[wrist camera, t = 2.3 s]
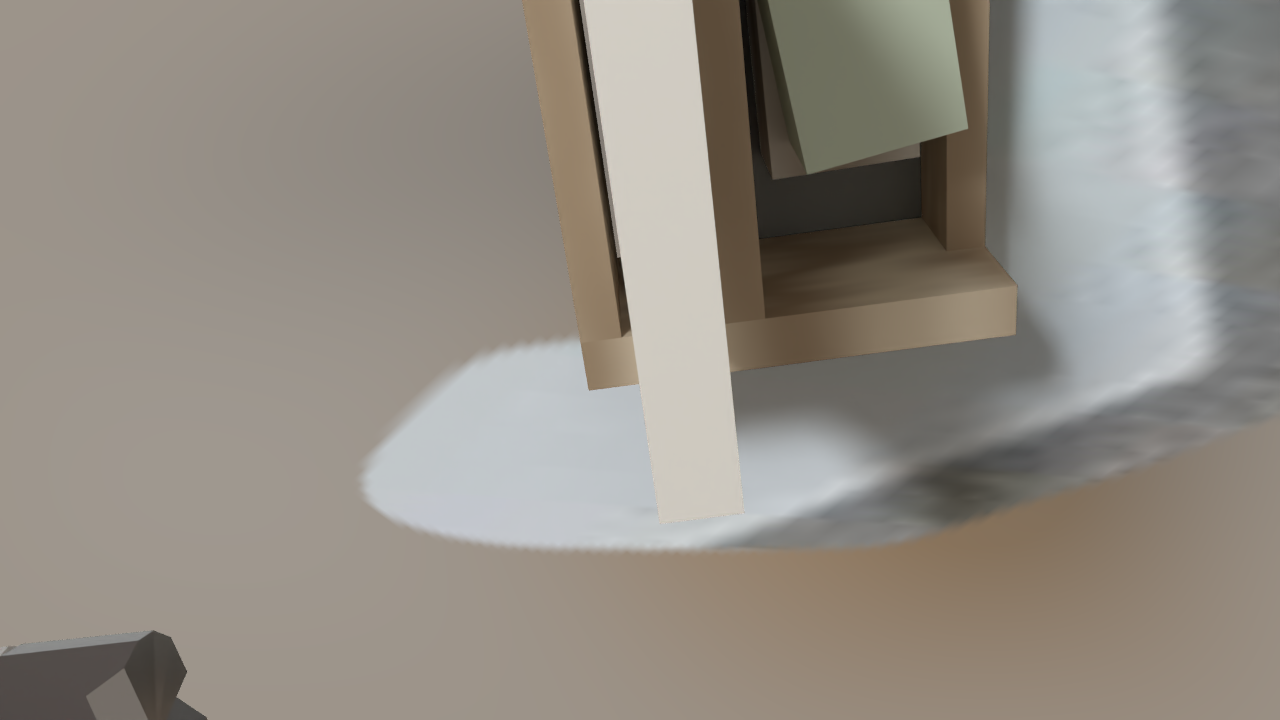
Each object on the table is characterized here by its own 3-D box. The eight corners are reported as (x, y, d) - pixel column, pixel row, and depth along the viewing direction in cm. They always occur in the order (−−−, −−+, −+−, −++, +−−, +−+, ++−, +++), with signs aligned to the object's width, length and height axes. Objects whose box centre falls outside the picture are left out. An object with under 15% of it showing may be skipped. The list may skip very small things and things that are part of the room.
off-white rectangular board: (621, -296, 30) (654, -365, 15) (678, 192, 37) (744, 513, 21) (562, -288, 30) (532, -347, 15) (629, 198, 37) (659, 524, 21)
